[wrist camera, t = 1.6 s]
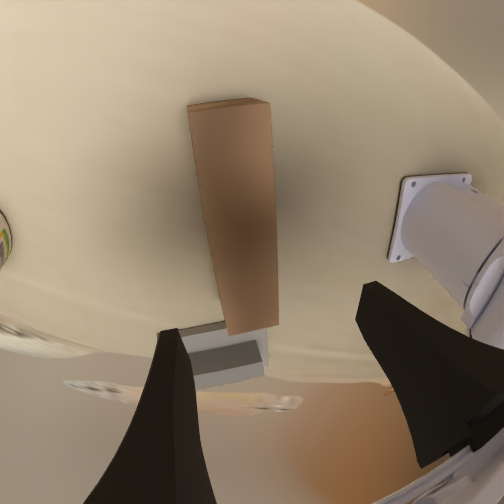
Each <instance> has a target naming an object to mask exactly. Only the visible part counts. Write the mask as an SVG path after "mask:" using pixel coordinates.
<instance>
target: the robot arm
mask: <svg viewBox="0 0 504 504" xmlns="http://www.w3.org/2000/svg"><path fill="white" fill-rule="evenodd" d="M471 181H472V175H471V174H469V173H460V174H443V175H428V176H415V177H406V178H405V179H404V180H403V182H402V187H401V194H400V200H399V206H398V212H397V217H396V223H395V228H394V233H393V238H392V242H391V247H390V251H389V256H388V260H389V262H390V263H395V262H398V261H402V260H405V259H409V258H412V257H415V258H416V259H417V260H418V261H419V262H420V263H421V264H422V265H423V266H424V267H425V268H426V269H427V270H428V271H429V272H430V273H431V274H432V275H433V276H434V277H435V278H436V279H437V280H438V282H439V283H440V284H441V285H442V286H443V287H444V288H445V289H446V290H447V291H448V292H449V293H450V294H451V295H452V297H453V298H454V299H455V300H456V301H457V302H458V303H459V304H460V305H461V307H462V308H463V309H464V313H463V315H462V317H461V320H462V321H463V322H464V323H465V325H466V326H467V329H466V332H465V335H464V334H462V333H460V332H458V331H456V330H454V329H452V328H450V327H448V326H446V325H444V324H442V323H441V322H439V321H437V320H436V319H434V318H432V317H431V316H429V315H427V314H426V313H424V312H423V311H421V310H420V309H418V308H417V307H415V306H413V305H412V304H410V303H409V302H407V301H406V300H405V299H403V298H402V297H400V296H399V295H397V294H396V293H394V292H393V291H391V290H390V289H388V288H387V287H385V286H384V285H382V284H380V283H379V282H377V281H374V282H370V283H367V284H364V285H363V289H362V293H361V298H360V302H359V306H358V310H357V314H356V318H355V320H356V322H357V324H358V327H359V329H360V331H361V333H362V335H363V338H364V340H365V341H366V343H367V345H368V346H369V348H370V350H371V351H372V353H373V355H374V356H375V358H376V359H377V361H378V363H379V364H380V366H381V368H382V369H383V371H384V372H385V374H386V376H387V377H388V379H389V381H390V383H391V385H392V387H393V388H394V391H395V392H396V395H397V398H398V400H399V402H400V404H401V407H402V410H403V412H404V415H405V417H406V420H407V423H408V426H409V430H410V433H411V436H412V440H413V444H414V448H415V452H416V457H417V462H418V464H419V466H420V468H424V467H425V466H427V465H429V464H431V463H432V462H434V461H436V460H437V459H439V458H441V457H442V456H444V455H445V454H447V453H449V454H450V456H451V458H449V459H448V460H447V461H445V462H444V463H442V464H441V465H439V466H438V467H436V468H435V469H433V470H432V471H430V472H429V473H427V474H425V475H424V476H422V477H421V478H419V479H417V480H416V481H414V482H412V483H411V484H409V485H407V486H405V487H404V488H402V489H400V490H398V491H396V492H394V493H392V494H391V495H389V496H387V497H385V498H383V499H381V500H379V501H376V502H374V503H372V504H406V503H408V502H409V501H411V500H413V499H414V498H416V497H418V496H419V495H421V494H423V493H424V492H425V493H424V494H423V495H421V496H420V497H419V498H417V499H416V500H415V501H414V502H413V504H497V503H498V502H499V500H500V499H501V498H502V497H503V495H504V206H503V205H501V204H500V203H498V202H497V201H495V200H494V199H492V198H491V197H489V196H488V195H486V194H485V193H483V192H481V191H480V190H478V189H477V188H475V187H473V186H472V185H471ZM412 182H413V184H412ZM411 184H412V185H411ZM444 479H445V482H444V483H442V484H440V485H438V486H436V487H434V486H435V485H437V484H438V483H439V482H441V481H442V480H444ZM432 487H434V488H432ZM431 488H432V489H431ZM429 489H430V490H429ZM427 490H429V491H427ZM426 491H427V492H426ZM83 504H217V503H216V500H215V497H214V493H213V490H212V487H211V483H210V479H209V476H208V472H207V468H206V464H205V460H204V456H203V452H202V447H201V441H200V435H199V424H198V413H197V402H196V390H195V382H194V376H193V371H192V365H191V360H190V358H189V355H188V353H187V350H186V348H185V346H184V343H183V341H182V338H181V336H180V333H179V331H178V328H175V329H169V330H164V331H161V332H160V333H159V336H158V341H157V345H156V349H155V353H154V357H153V361H152V364H151V368H150V371H149V374H148V377H147V380H146V383H145V387H144V389H143V392H142V395H141V398H140V400H139V403H138V406H137V409H136V411H135V414H134V416H133V418H132V421H131V423H130V426H129V428H128V430H127V432H126V434H125V436H124V438H123V440H122V442H121V445H120V446H119V448H118V450H117V452H116V454H115V456H114V458H113V459H112V461H111V463H110V464H109V466H108V468H107V469H106V471H105V473H104V474H103V476H102V477H101V479H100V481H99V482H98V484H97V485H96V486H95V488H94V489H93V491H92V492H91V493H90V495H89V496H88V497H87V499H86V500H85V501H84V503H83Z"/></svg>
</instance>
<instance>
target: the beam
mask: <svg viewBox="0 0 504 504" xmlns="http://www.w3.org/2000/svg"><path fill="white" fill-rule="evenodd" d="M187 110H188V117H189V124H190V131H191V138H192V145H193V151H194V158H195V164H196V171H197V177H198V183H199V189H200V195H201V201H202V207H203V212H204V218H205V224H206V229H207V235H208V240H209V245H210V251H211V256H212V261H213V266H214V271H215V277H216V282H217V286H218V291H219V296H220V301H221V305H222V310H223V314H224V319H225V323H226V327H227V331H228V336H232V335H237V334H241V333H246V332H250V331H255V330H259V329H263V328H267V327H272V326H276V325H279V302H278V262H277V232H276V206H275V184H274V163H273V145H272V127H271V111H270V103H268V102H264V101H261V100H257V99H254V98H241V99H232V100H224V101H216V102H209V103H202V104H196V105H190V106H187Z"/></svg>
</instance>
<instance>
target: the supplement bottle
mask: <svg viewBox="0 0 504 504" xmlns="http://www.w3.org/2000/svg"><path fill="white" fill-rule="evenodd" d="M10 250H11V234H10V230H9V227H8V224H7V222H6V220H5V219H4V217H3V216H2V214H1V213H0V270H1V268H2V266H3V265H4V263H5V262H6V260H7V258H8V256H9V254H10Z"/></svg>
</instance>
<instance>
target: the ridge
mask: <svg viewBox="0 0 504 504" xmlns="http://www.w3.org/2000/svg"><path fill="white" fill-rule="evenodd" d="M178 331H179V333H180V336H181V338H182V341H183V343H184V346H185V348H186V350H187V353H188V355H189V358H190V360H191V365H192V371H193V376H194V382H195V390H198V389H205V388H210V387H215V386H221V385H225V384H230V383H235V382H240V381H244V380H249V379H253V378H257V377H261V376H264V370H263V367H264V366H268V365H269V364H268V347H267V331H266V328H263V329H259V330H255V331H250V332H246V333H241V334H237V335H232V336H228V331H227V327H226V323H225V321H223V322H219V323H214V324H209V325H204V326H198V327H193V328H188V329H182V330H178ZM158 336H159V334H157V341H158Z"/></svg>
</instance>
